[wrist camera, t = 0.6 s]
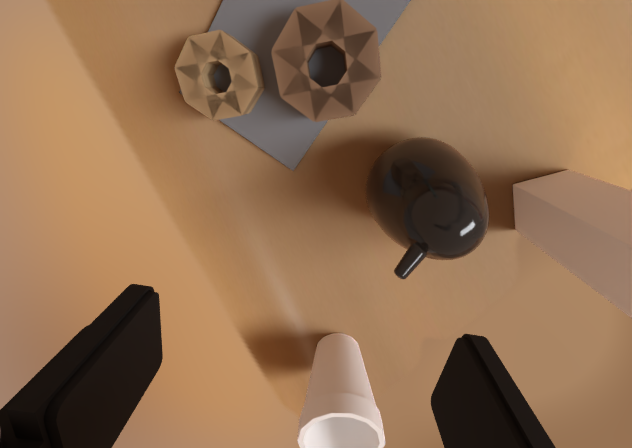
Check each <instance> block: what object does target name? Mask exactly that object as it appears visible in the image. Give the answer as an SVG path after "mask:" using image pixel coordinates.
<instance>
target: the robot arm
mask: <svg viewBox="0 0 632 448" xmlns="http://www.w3.org/2000/svg"><path fill="white" fill-rule="evenodd" d="M161 362H162V340H161V323H160V306H159V294H158V293H157V292H154V289H153V287H150V286H143V285H137V284H131V285H129V286H128V287H127V288H126V289H125V290H124V291H123V292H122V293H121V294H120V295H119V296H118V297H117V298H116V299H115V300H114V301H113V302H112V303H111V304H110V305H109V306H108V307H107V308H106V309H105V310H104V311H103V312H102V313H101V314H100V315H99V316H98V317H97V318H96V319H95V320H94V321H93V322H92V323H91V324H90V325H88V326H86V327H85V328H84V329H82V330H81V331H80V332H79V333H78V334H77V335H76V336H75V337H74V338H73V339H72V340H71V341H70V342H69V343H68V344H67V345H66V346H65V347H64V348H63V349H62V350H61V351H60V352H59V353H58V354H57V355H56V356H55V357H54V358H53V359H52V360H50V362H48V363H47V364H46V365H45V367H43V369H41V370H40V372H38V373H37V374H36V375H35V376H34V377H33V378H32V379H31V380H30V381H29V382H28V383H27V384H26V385H25V386H24V387H23V388H22V389H21V390H20V391H19V392H18V393H17V394H16V395H15V396H14V397H13V398H12V399H11V400H10V401H9V402H8V403H7V404H6V405H5V406H4V407H3V408H2V409H1V410H0V448H112V446H113V444H114V443H115V441H116V440H117V438H118V436H119V435H120V433H121V431H122V430H123V428H124V426H125V425H126V423H127V421H128V420H129V418H130V416H131V414H132V413H133V411H134V410H135V408H136V406H137V405H138V403H139V401H140V400H141V397H142V396H143V395H144V393H145V391H146V390H147V388H148V386H149V384H150V383H151V381H152V379H153V378H154V376H155V375H156V373H157V371H158V369H159V368H160V365H161ZM431 406H432V410H433V413H434V416H435V420H436V423H437V426H438V429H439V432H440V435H441V438H442V441H443V445H444V448H555V446H554V444H553V443H552V441H551V440H550V438H549V437H548V435H547V433H546V432H545V430H544V429H543V427H542V425H541V424H540V422H539V421H538V419H537V417H536V416H535V414H534V413H533V411H532V409H531V408H530V406H529V405H528V403H527V401H526V400H525V398H524V397H523V395H522V394H521V392H520V390H519V389H518V387H517V386H516V384H515V382H514V381H513V379H512V378H511V376H510V374H509V373H508V371H507V370H506V368H505V366H504V365H503V363H502V362H501V360H500V359H499V357H498V355H497V354H496V352H495V351H494V349H493V347H492V346H491V344H490V343H489V341H488V340H487V338H485V337H483V336H477V335H470V334H464V335H463V336H462V337H461V338H458V339H457V340H456V342H455V344H454V346H453V349H452V351H451V353H450V356H449V358H448V360H447V362H446V364H445V366H444V369H443V371H442V373H441V375H440V378H439V380H438V382H437V384H436V387H435V389H434V391H433V394H432V396H431Z"/></svg>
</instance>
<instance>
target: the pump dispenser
mask: <svg viewBox="0 0 632 448" xmlns="http://www.w3.org/2000/svg"><path fill="white" fill-rule="evenodd" d="M366 201H367V204H368V207H369V210H370V212H371V214H372V216H373V218H374V219H375V221H376V222H377V224H378V225H379V226H380V228H381V229H382V230H383V231H384V232H385V233H386V234H387V235H388V236H389V237H390V238H391V239H392V240H393V241H395V242H396V243H397V244H399V245H400V246H402V247H404V248H405V249H407V251H406V253H405V254H404V256H403V257H402V259H401V260H400V262H399V263H398V265H397V267H396V268H395V270H394V273H395V275H396V276H398V277H399V278H400V279H406V278H407V277H408V276H409V275H410V273H411V272H412V271H413V270H414V269H415V268H416V267H417V266H418V265H419V264H420V262H421V261H422V260H423V259H424V258H425V257H427V258H431V259H436V260H453V259H458V258H461V257H463V256H466V255H468V254H469V253H471V252H472V251H474V250H475V249H476V248H477V247H478V246H479V245H480V243H481V242H482V240H483V239H484V237H485V234H486V232H487V229H488V224H489V207H488V201H487V196H486V193H485V190H484V187H483V184H482V182H481V180H480V178H479V176H478V174H477V172H476V171H475V169H474V168H473V167H472V165H471V164H470V163H469V162H468V161H467V159H466V158H465V157H464V156H463V155H462V154H461V153H459V152H458V151H457V150H456V149H455V148H453V147H452V146H450V145H448V144H446V143H444V142H442V141H439V140H436V139H432V138H423V137H421V138H412V139H407V140H404V141H401V142H399V143H397V144H395V145H393V146H391V147H390V148H389V149H387V150H386V151H385V152H384V153H383V154H381V156H380V157H379V158H378V159H377V160H376V161H375V163H374V164H373V166H372V168H371V170H370V172H369V175H368V178H367V182H366Z"/></svg>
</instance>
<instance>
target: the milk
mask: <svg viewBox="0 0 632 448" xmlns="http://www.w3.org/2000/svg"><path fill="white" fill-rule="evenodd" d="M513 200H514V215H515V230H516V231H517V232H519V233H520V234H521V235H523V236H524V237H525V238H527V239H528V240H529V241H531V242H532V243H533V244H534V245H536V246H537V247H539V248H540V249H541V250H542V251H544V252H545V253H546V254H548V255H549V256H550V257H552V258H553V259H554V260H556V261H557V262H558V263H560V264H561V265H562V266H564V267H565V268H566V269H567V270H569V271H570V272H571V273H573V274H574V275H575V276H577V277H578V278H579V279H581V280H582V281H583V282H585V283H586V284H587V285H589V286H590V287H591V288H592V289H594V290H595V291H596V292H598V293H599V294H601V295H602V296H603V297H604V298H606V299H607V300H608V301H610V302H611V303H612V304H614V305H615V306H616V307H618V308H619V309H620V310H622V311H623V312H624V313H626V314H627V315H628V316H629V317H631V318H632V191H631V190H628V189H625V188H622V187H619V186H616V185H613V184H610V183H607V182H604V181H601V180H598V179H595V178H592V177H590V176H587V175H584V174H581V173H578V172H575V171H572V170H565V171H561V172H558V173H554V174H550V175H546V176H542V177H539V178H535V179H531V180H527V181H523V182H520V183H516V184H513Z"/></svg>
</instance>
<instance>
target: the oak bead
mask: <svg viewBox="0 0 632 448" xmlns="http://www.w3.org/2000/svg"><path fill="white" fill-rule="evenodd" d="M219 65H225V66H226V67H228V68H229V72H230V76H231V80H232V82H231V84H230V86H229V88H228V90H227V92H223V91H222V90H221V89H219V88H218V87H217V85H216V81H215V78H214V74H215V72H216V70H217V68H218V66H219ZM174 67H175V68H174V69H175V72H176V75H177V78H178V81H179V85H180V88H181V91H182V94H183V97H184V100H185V101H186V103H187V104H189V105H190V106H192V107H193V108H195V109H196V110H198V111H199V112H201V113H202V114H203V115H205V116H206V117H208V118H209V119H211V120H213V121H214V120H220V119H225V118H231V117H236V116H242V115H245V114H248V113H250V112H251V111H252V109H253V108H254V106H255V104H256V103H257V101H258V99H259V97H260V96H261V94H262V92H263V91H264V89H265V88H264V87H265V85H264V80H263V76H262V71H261V66H260V62H259V57H258V55H257V54H255V53H254V52H253V51H251V50H250V49H249V48H247V47H246V46H245V45H244V44H242V43H241V42H240V41H238V40H237V39H236V38H234V37H233V36H231V35H229V34H228V33H226V32H224V31H222V30H216V31H211V32H207V33H202V34H197V35H193V36H189V37H188V38H187V40H186V42H185V45H184V47H183V49H182V51H181V53H180V56H179V58H178V60H177V62H176V64H175V66H174Z"/></svg>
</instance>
